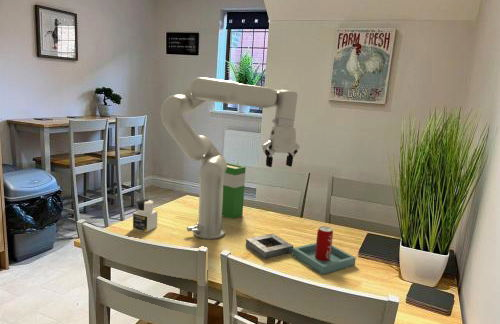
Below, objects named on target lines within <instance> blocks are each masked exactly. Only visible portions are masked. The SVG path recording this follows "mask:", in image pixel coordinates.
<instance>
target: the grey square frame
mask: <svg viewBox="0 0 500 324" xmlns="http://www.w3.org/2000/svg"><path fill="white" fill-rule="evenodd" d="M268 245H271V246H268ZM245 246H246V247H247V248H248V249H249V250H250V251H252V252H253V253H255V254H256V255H257V256H259V257H260V258H261V259H263V260H264V261H266V260H271V259H273V258H274V259H275V258H280V257H283V256H287V255H292V253H293V248H294V245H293V244H291V243H289V242H288V241H287V240H285V239H283V238H281V237H280V236H278V235H276V234H275V233H269V234H264V235H259V236H253V237H248V238H245ZM267 246H268V247H267Z"/></svg>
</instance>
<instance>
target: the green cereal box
mask: <svg viewBox="0 0 500 324" xmlns="http://www.w3.org/2000/svg"><path fill="white" fill-rule="evenodd" d="M245 182H246V166H243V165H239V164H234V163H229V162H227V170H226V172H225V174H224V177H223V204H222V217H226V218H227V219H228V218H229V219H232V220H234V219H236V218H239V217H241V216H243V212H244V211H243V210H244V199H245V198H244V196H245V184H246V183H245Z"/></svg>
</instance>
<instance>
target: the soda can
mask: <svg viewBox="0 0 500 324" xmlns="http://www.w3.org/2000/svg"><path fill="white" fill-rule="evenodd" d="M333 237H334V232H333V228H332V227H330V226H326V225H322V226H319V227H318V228H317V234H316V242H315V243H316V251H315V258H316V259H317V260H319V261H322V262H327V261H329V260H330V256H331V247H332V245H333Z"/></svg>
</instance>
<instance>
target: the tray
mask: <svg viewBox="0 0 500 324" xmlns="http://www.w3.org/2000/svg"><path fill="white" fill-rule="evenodd" d="M315 251H316V242H313V243H310V244H305V245H302V246H301V245H300V246H296V247H293V253H292V254H291V256H293V258H295V259H296V260H298V261H300V262H302V263H303V264H304V265H306V266H307V267H308V268H311V269H312V270H313V271H315V272H316V273H318V274H319V275H321V276H323V275H327V274H330V273H334V272H337V271H341V270H344V269H347V268H351V267H354V266H356V259H357V258H356V257H355V256H353V255H352V254H350V253H347V252H346V251H344V250H343V249H340V248H338V247H337V246H335V245H333V244H332V247H331V256H330V260H329V261H327V262H322V261H319V260H317V259H316V258H315Z"/></svg>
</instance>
